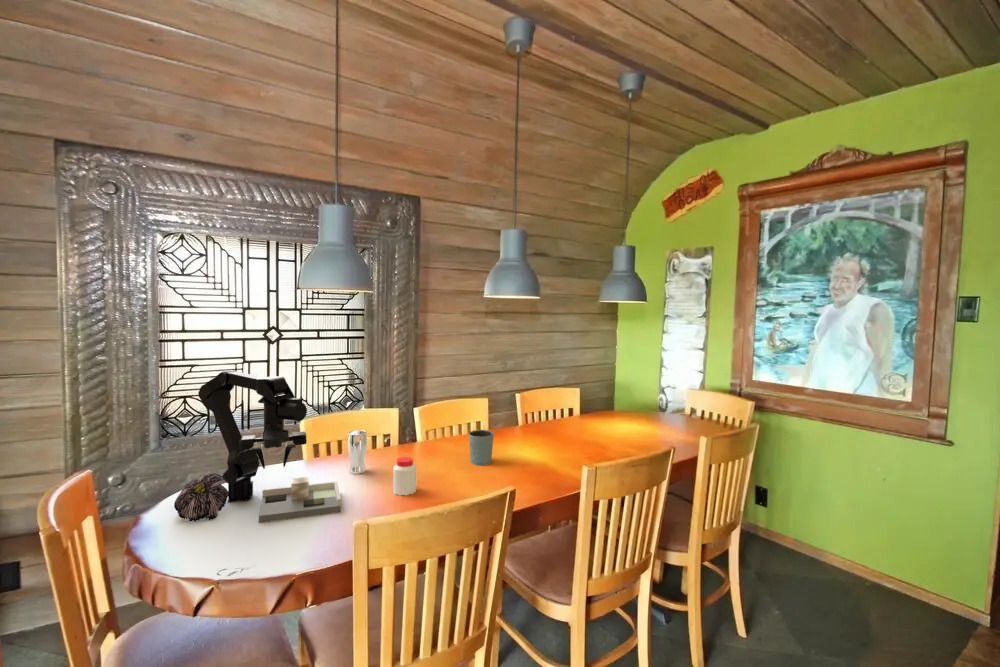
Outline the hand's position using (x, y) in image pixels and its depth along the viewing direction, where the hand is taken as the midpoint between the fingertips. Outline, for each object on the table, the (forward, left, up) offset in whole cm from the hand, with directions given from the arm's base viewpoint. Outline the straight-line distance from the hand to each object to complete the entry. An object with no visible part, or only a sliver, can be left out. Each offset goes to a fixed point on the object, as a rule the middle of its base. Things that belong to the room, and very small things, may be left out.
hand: (274, 467), depth 154 cm
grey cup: (+76, +20, -12) cm, 79 cm away
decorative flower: (-19, +1, -12) cm, 23 cm away
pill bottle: (+40, -1, -12) cm, 42 cm away
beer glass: (+27, +24, -12) cm, 38 cm away
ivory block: (+7, 0, -10) cm, 12 cm away
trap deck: (+8, -4, -12) cm, 15 cm away
